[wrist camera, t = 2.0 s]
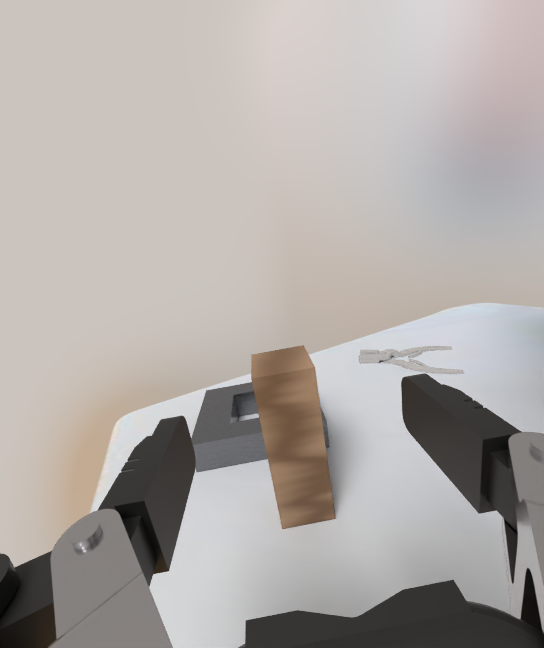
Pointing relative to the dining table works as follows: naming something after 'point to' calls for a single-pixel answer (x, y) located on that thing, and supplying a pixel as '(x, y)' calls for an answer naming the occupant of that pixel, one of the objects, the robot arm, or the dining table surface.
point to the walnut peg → (293, 435)
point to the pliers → (385, 356)
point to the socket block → (230, 429)
